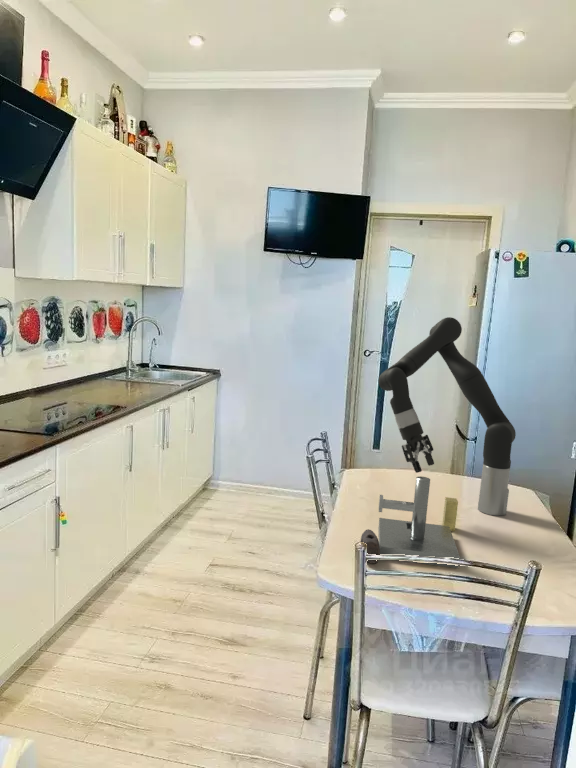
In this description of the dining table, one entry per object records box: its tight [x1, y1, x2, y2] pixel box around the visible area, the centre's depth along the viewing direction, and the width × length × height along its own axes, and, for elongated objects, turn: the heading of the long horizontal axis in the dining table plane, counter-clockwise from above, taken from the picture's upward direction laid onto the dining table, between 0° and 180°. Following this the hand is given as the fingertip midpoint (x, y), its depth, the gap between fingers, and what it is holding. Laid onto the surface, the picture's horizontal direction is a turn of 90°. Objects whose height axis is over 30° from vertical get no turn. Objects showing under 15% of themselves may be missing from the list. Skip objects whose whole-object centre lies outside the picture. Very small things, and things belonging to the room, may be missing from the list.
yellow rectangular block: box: [441, 496, 459, 532], centre depth 181 cm, size 4×4×10 cm
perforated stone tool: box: [359, 529, 380, 564], centre depth 158 cm, size 15×5×7 cm, turn 175°
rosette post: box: [377, 475, 461, 569], centre depth 164 cm, size 23×22×22 cm
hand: (425, 468), depth 188 cm, fingers open, 8 cm apart
